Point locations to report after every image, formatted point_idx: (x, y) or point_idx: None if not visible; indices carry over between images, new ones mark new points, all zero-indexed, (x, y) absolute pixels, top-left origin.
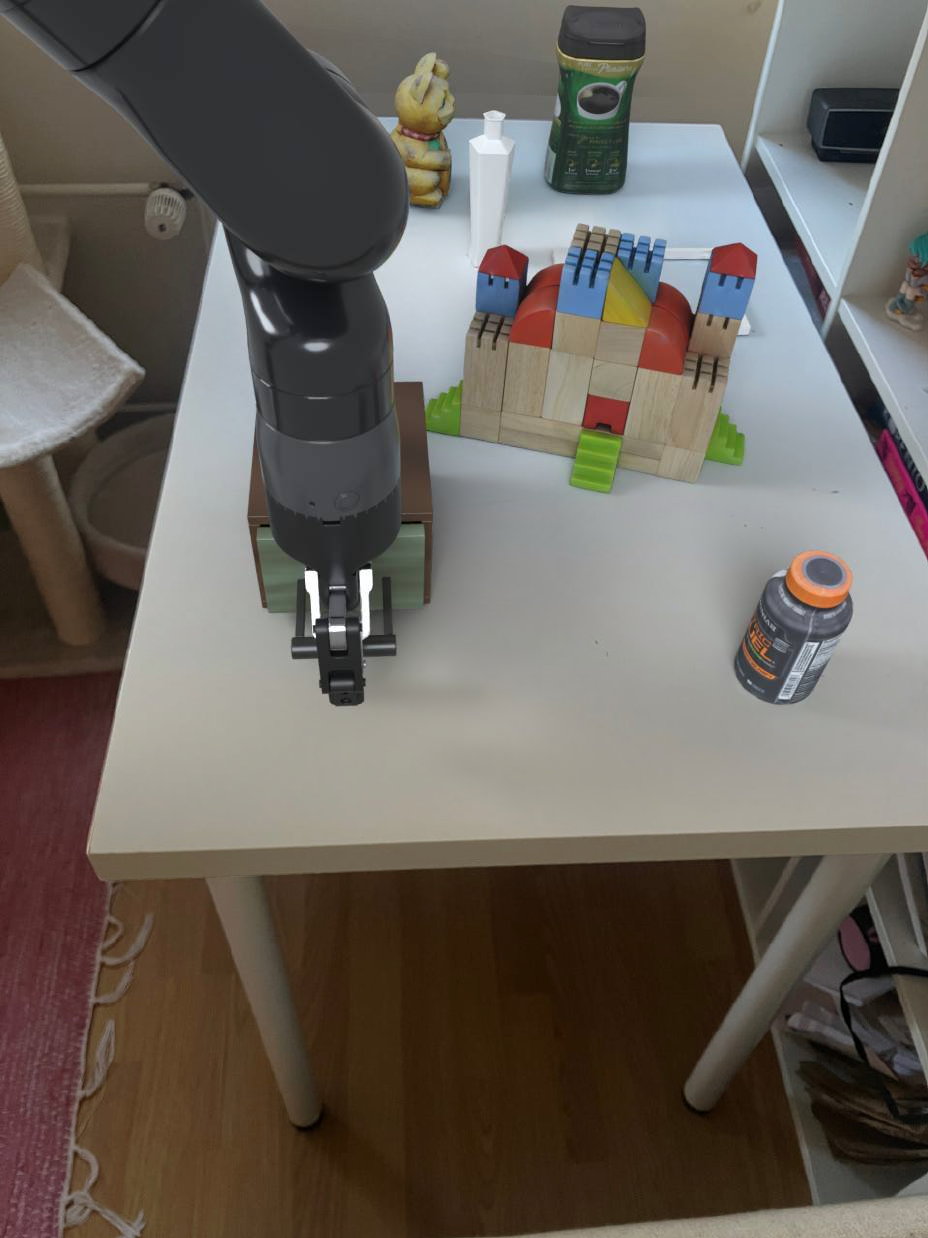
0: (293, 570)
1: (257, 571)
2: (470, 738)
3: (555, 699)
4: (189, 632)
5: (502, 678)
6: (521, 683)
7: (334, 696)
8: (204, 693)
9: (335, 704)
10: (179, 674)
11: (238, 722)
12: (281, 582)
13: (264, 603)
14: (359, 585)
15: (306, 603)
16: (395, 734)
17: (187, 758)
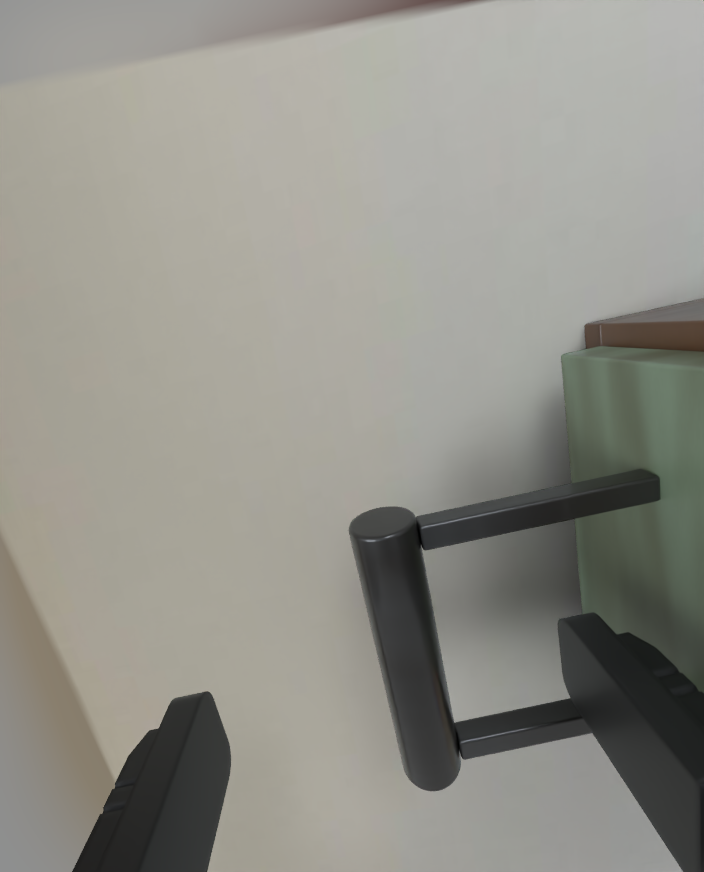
0: (696, 482)
1: (699, 326)
2: (303, 770)
3: (405, 866)
4: (494, 148)
5: (438, 795)
6: (431, 821)
7: (107, 803)
8: (309, 251)
9: (127, 759)
10: (356, 164)
11: (246, 358)
12: (647, 421)
13: (595, 331)
14: (614, 757)
15: (587, 458)
16: (285, 660)
17: (120, 266)
